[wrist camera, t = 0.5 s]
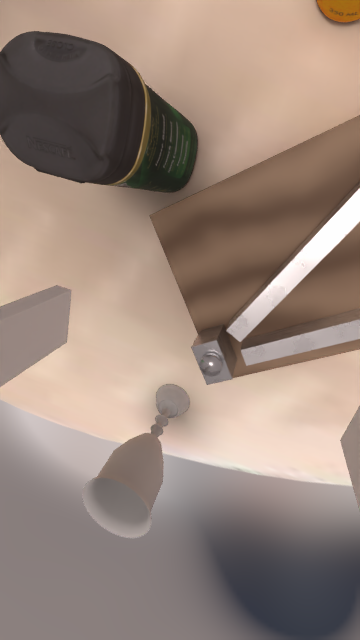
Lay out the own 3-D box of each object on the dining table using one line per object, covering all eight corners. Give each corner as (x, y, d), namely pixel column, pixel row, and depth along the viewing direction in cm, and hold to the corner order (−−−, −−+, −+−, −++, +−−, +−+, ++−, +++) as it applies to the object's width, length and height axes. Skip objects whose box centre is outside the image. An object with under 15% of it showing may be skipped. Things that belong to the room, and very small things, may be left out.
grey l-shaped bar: (214, 364, 40) (205, 388, 35) (200, 330, 39) (189, 350, 34) (497, 293, 30) (545, 313, 24) (488, 244, 28) (536, 254, 23)
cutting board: (154, 215, 37) (149, 215, 36) (463, 68, 26) (473, 61, 25) (219, 375, 42) (217, 381, 41) (504, 309, 31) (514, 313, 30)
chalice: (206, 410, 45) (166, 530, 28) (169, 427, 47) (113, 543, 31) (176, 369, 44) (118, 468, 27) (140, 388, 46) (68, 488, 30)
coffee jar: (206, 119, 33) (134, 30, 16) (188, 199, 36) (112, 196, 19) (121, 100, 34) (-27, 3, 17) (111, 179, 37) (-23, 160, 21)
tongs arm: (242, 332, 37) (240, 342, 35) (229, 321, 37) (226, 330, 35) (429, 141, 27) (446, 134, 24) (411, 126, 27) (426, 117, 24)
